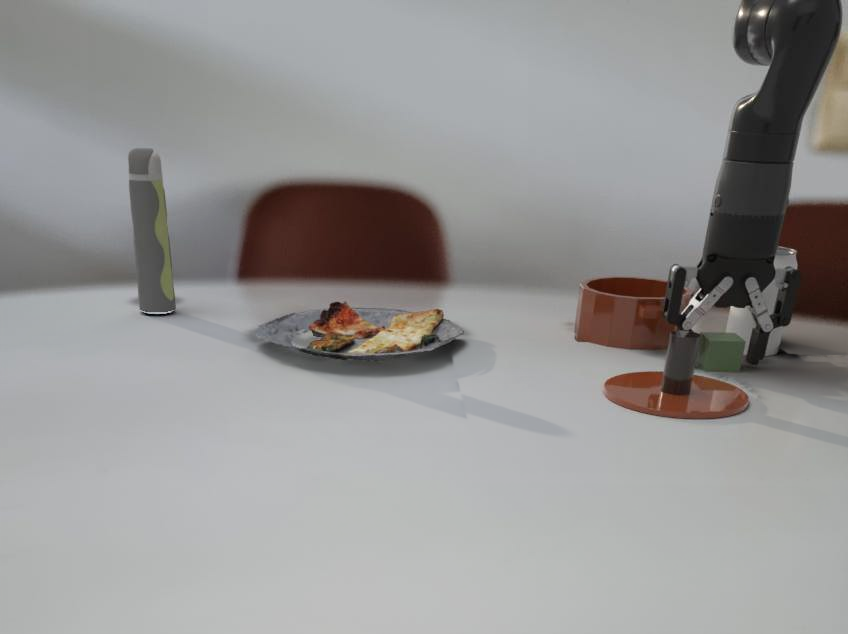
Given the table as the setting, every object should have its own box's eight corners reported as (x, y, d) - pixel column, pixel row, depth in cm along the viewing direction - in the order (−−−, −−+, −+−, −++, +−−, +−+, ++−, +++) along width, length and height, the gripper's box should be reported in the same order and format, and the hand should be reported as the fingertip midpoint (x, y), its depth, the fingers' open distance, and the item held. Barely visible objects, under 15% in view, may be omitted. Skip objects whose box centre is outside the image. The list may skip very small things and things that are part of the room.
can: (785, 353, 120) (810, 250, 114) (763, 363, 116) (787, 256, 109) (735, 343, 123) (756, 243, 117) (712, 353, 119) (733, 249, 113)
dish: (663, 323, 132) (671, 273, 129) (702, 361, 116) (713, 304, 113) (563, 321, 132) (569, 271, 129) (588, 359, 116) (596, 302, 113)
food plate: (325, 315, 133) (325, 288, 131) (486, 336, 124) (488, 307, 123) (224, 357, 114) (222, 326, 112) (406, 386, 105) (408, 353, 103)
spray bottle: (182, 310, 134) (169, 148, 124) (165, 317, 130) (151, 150, 120) (150, 307, 135) (135, 146, 125) (133, 314, 131) (116, 149, 121)
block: (727, 367, 114) (734, 332, 112) (738, 377, 110) (746, 341, 108) (693, 366, 114) (700, 331, 112) (703, 376, 110) (710, 340, 108)
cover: (721, 383, 108) (735, 318, 105) (766, 426, 96) (783, 354, 92) (590, 380, 108) (599, 316, 105) (618, 423, 96) (629, 351, 92)
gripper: (802, 204, 106) (767, 355, 115) (671, 201, 106) (646, 352, 115) (829, 214, 100) (790, 373, 108) (690, 210, 100) (662, 370, 108)
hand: (716, 362), depth 112 cm, fingers open, 7 cm apart
